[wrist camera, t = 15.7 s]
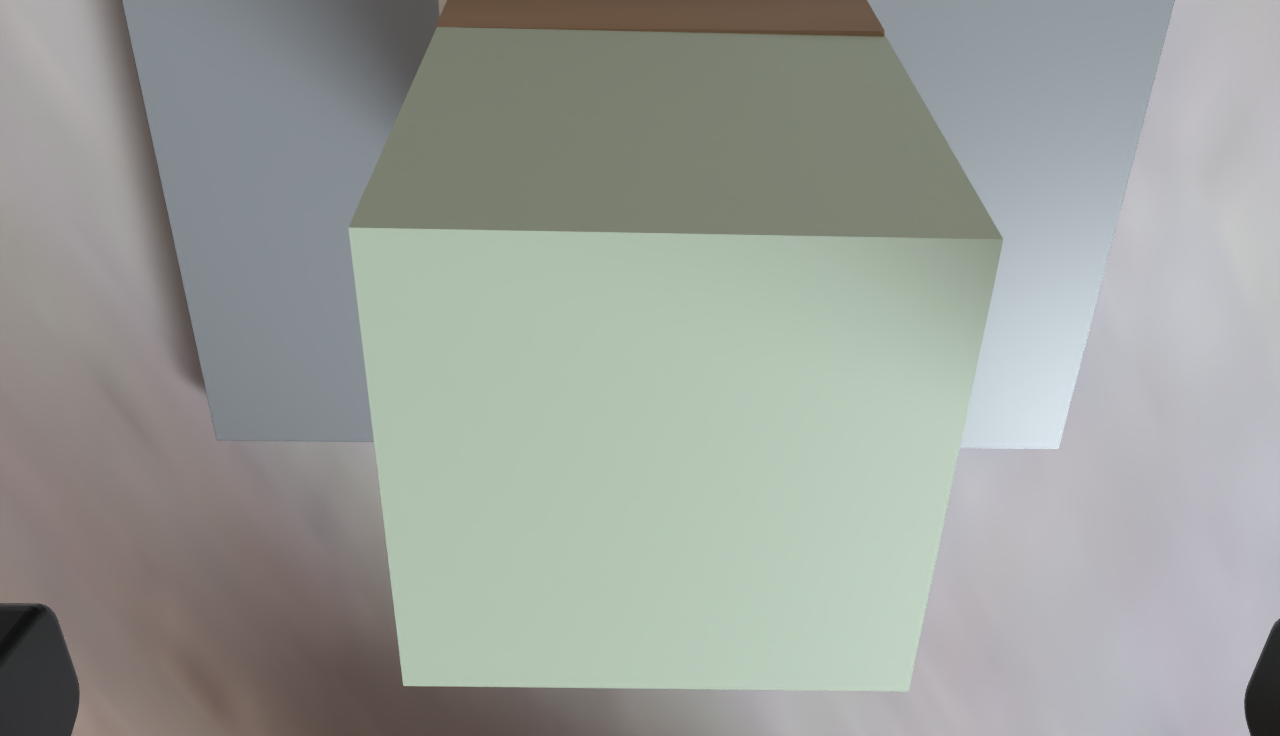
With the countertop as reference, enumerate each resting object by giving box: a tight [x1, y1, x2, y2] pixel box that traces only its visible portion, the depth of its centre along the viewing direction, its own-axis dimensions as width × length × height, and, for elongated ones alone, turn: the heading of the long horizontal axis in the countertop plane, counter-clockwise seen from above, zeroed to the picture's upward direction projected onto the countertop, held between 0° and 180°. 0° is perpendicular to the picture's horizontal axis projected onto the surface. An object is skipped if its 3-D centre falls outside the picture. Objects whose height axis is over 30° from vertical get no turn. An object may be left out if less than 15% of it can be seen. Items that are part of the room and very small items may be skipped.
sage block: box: [348, 27, 1004, 691], centre depth 13 cm, size 5×5×5 cm
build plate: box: [122, 0, 1175, 449], centre depth 19 cm, size 14×16×1 cm
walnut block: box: [435, 0, 885, 37], centre depth 17 cm, size 5×5×5 cm
